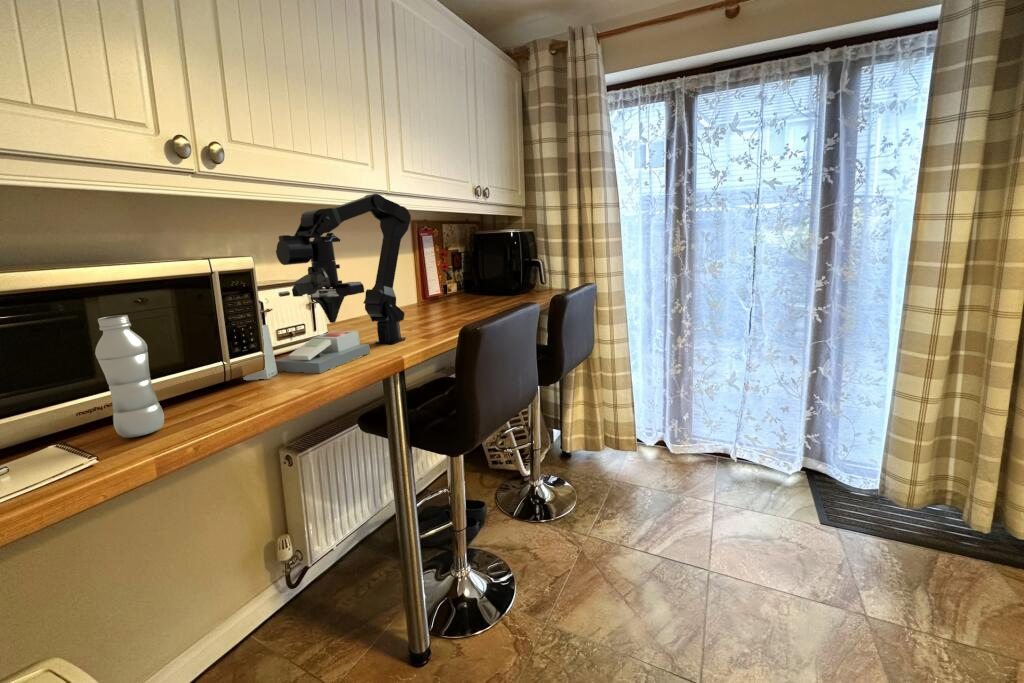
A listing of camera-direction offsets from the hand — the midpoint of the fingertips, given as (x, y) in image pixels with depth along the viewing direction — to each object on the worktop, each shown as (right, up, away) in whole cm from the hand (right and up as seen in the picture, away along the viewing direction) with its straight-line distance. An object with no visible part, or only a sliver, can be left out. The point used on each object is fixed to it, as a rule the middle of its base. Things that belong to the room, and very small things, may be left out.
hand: (332, 322), depth 122 cm
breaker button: (+1, -6, +2) cm, 7 cm away
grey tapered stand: (-12, -13, -12) cm, 22 cm away
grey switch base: (-1, -10, -2) cm, 10 cm away
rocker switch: (-3, -7, -7) cm, 10 cm away
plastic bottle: (-16, -21, -42) cm, 50 cm away
